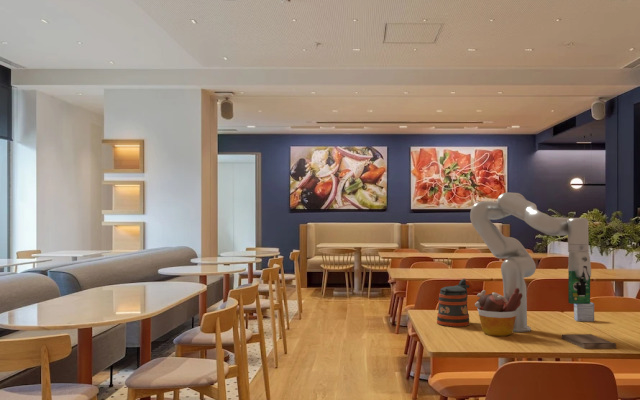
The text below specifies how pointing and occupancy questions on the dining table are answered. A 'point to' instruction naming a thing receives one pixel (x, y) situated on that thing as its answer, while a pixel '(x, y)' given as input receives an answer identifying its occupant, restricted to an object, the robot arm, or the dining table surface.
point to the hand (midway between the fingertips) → (579, 294)
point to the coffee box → (572, 290)
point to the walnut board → (588, 341)
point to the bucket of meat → (498, 312)
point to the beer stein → (453, 306)
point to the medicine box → (584, 312)
